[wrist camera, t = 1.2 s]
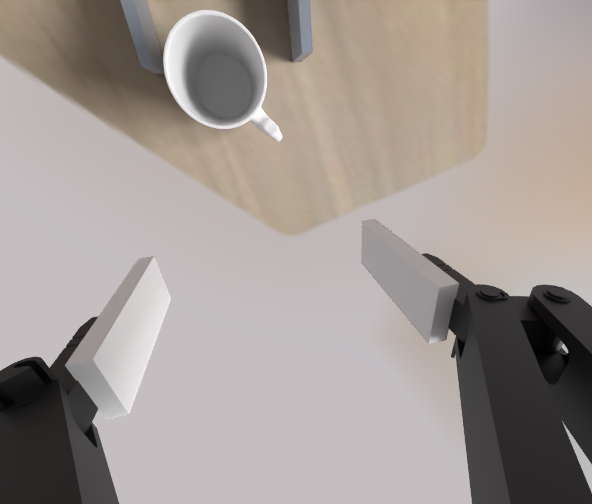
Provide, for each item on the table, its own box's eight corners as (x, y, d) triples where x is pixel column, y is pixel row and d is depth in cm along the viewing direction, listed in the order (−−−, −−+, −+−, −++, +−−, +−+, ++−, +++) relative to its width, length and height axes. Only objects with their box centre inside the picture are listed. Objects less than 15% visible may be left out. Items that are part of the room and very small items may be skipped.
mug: (177, 88, 28) (141, 74, 17) (217, 31, 26) (203, -22, 16) (253, 157, 32) (260, 178, 22) (290, 111, 31) (317, 110, 20)
